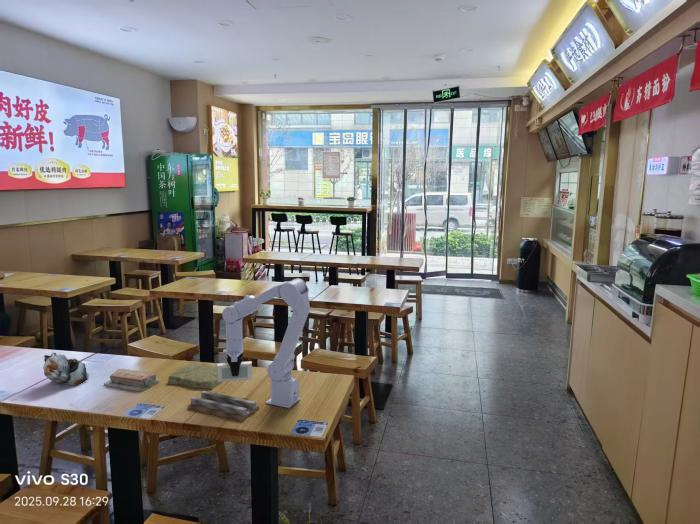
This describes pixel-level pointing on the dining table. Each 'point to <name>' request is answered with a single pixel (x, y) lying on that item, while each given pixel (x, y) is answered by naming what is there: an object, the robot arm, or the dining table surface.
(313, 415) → the dining table surface
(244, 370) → the tall cream box
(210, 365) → the green stone slab
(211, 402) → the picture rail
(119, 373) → the packaged product
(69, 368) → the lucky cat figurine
